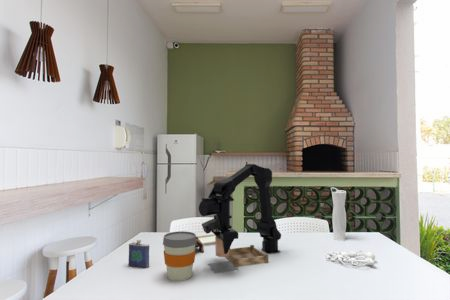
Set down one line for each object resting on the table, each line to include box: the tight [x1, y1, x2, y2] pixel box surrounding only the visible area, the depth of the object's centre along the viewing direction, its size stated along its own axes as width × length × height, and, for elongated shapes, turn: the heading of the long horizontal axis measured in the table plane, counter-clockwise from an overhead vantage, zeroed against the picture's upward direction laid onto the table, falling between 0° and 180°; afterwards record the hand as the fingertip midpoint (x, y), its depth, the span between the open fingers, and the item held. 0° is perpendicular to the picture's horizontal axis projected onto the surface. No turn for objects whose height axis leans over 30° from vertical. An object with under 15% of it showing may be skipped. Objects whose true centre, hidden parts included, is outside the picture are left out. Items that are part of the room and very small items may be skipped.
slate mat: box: [207, 260, 240, 274], centre depth 117 cm, size 10×10×1 cm
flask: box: [128, 239, 150, 269], centre depth 118 cm, size 9×3×11 cm, turn 74°
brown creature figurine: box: [195, 237, 205, 254], centre depth 137 cm, size 12×10×8 cm
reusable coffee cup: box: [162, 230, 197, 282], centre depth 109 cm, size 13×13×15 cm
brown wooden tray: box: [225, 244, 269, 268], centre depth 126 cm, size 15×15×4 cm
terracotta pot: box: [214, 235, 231, 258], centre depth 117 cm, size 6×6×7 cm
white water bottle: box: [330, 187, 347, 242], centre depth 158 cm, size 8×8×28 cm
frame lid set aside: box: [196, 233, 216, 247], centre depth 154 cm, size 14×14×1 cm
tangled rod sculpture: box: [325, 249, 376, 267], centre depth 123 cm, size 19×14×4 cm
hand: (223, 251), depth 117 cm, fingers closed on terracotta pot, 6 cm apart
